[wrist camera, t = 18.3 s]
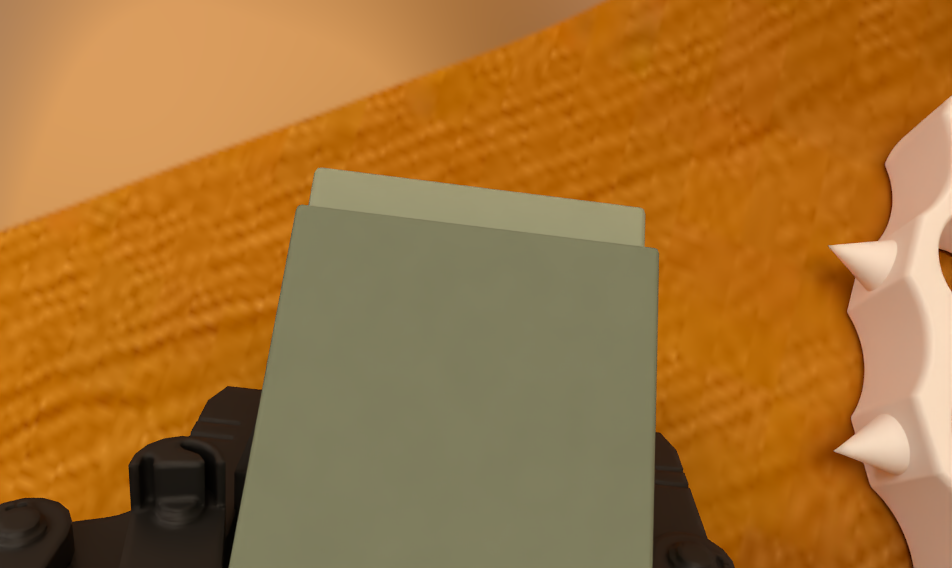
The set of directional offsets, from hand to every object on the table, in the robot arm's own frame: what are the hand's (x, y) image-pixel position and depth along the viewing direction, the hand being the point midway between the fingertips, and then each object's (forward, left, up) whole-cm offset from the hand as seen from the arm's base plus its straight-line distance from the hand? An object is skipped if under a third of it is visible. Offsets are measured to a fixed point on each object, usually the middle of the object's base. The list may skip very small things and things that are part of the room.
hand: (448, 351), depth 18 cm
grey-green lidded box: (0, -4, -3) cm, 5 cm away
